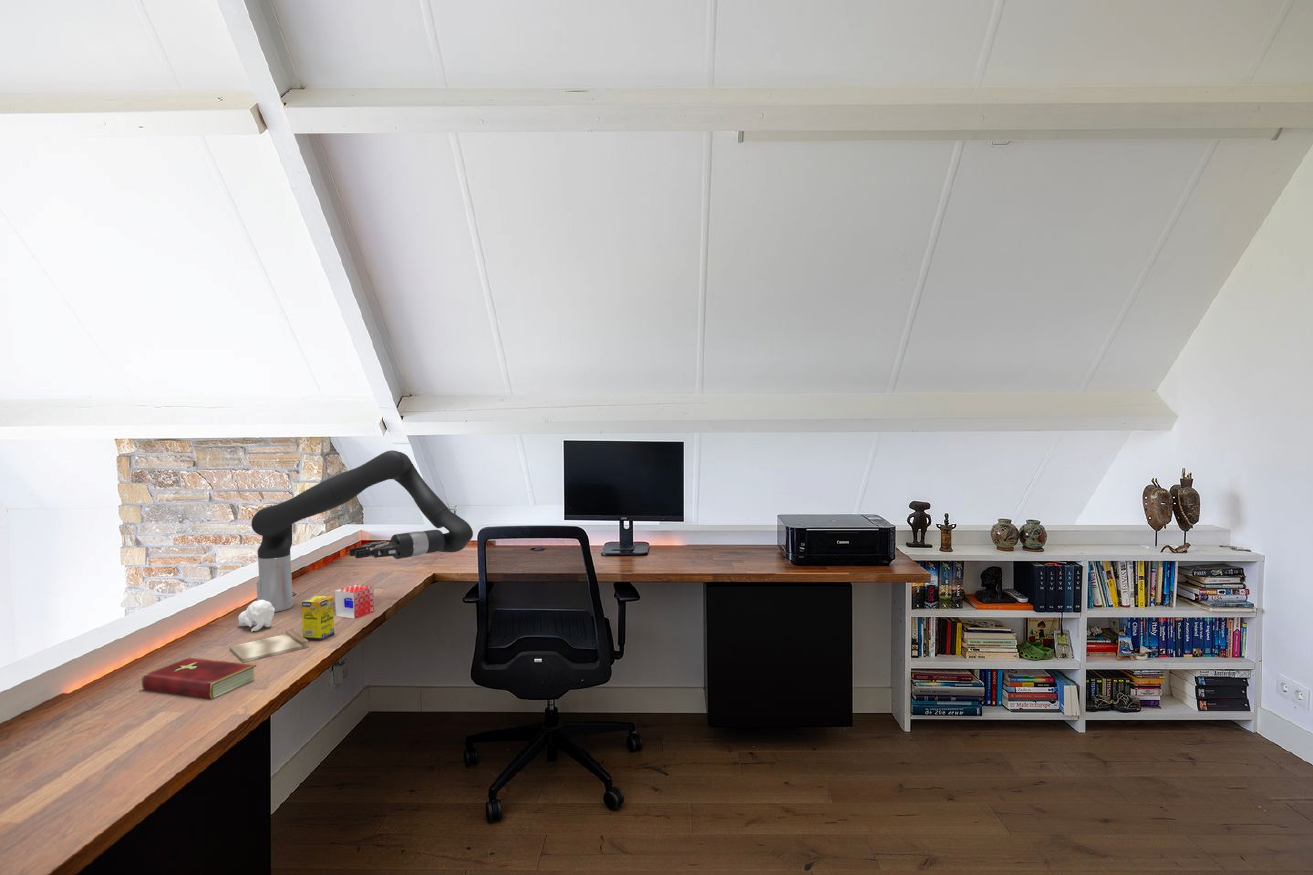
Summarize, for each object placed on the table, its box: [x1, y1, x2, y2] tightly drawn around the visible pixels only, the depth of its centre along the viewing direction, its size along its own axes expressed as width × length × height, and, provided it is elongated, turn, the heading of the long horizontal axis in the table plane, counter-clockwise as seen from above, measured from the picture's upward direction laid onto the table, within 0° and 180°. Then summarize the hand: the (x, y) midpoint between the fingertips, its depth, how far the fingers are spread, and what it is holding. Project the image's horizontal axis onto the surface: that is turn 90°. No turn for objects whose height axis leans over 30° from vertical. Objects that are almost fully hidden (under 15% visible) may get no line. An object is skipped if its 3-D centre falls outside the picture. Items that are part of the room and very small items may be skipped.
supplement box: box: [301, 595, 335, 642], centre depth 199 cm, size 6×6×11 cm
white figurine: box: [238, 600, 275, 633], centre depth 209 cm, size 6×8×12 cm
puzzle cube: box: [334, 584, 375, 619], centre depth 222 cm, size 8×8×8 cm
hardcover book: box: [141, 656, 257, 700], centre depth 167 cm, size 12×21×4 cm, turn 73°
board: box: [229, 628, 309, 663], centre depth 191 cm, size 16×14×2 cm
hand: (352, 553), depth 205 cm, fingers open, 4 cm apart
